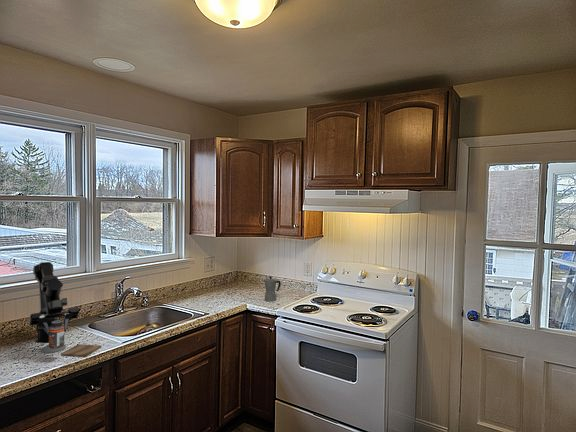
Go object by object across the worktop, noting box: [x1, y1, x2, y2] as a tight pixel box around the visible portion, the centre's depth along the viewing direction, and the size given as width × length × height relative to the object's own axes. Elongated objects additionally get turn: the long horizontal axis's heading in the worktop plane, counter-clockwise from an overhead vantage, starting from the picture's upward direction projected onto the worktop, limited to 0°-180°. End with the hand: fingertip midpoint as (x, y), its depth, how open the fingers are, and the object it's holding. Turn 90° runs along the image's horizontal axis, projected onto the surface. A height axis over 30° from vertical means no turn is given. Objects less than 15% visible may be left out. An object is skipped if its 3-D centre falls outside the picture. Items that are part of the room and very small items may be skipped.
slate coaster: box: [40, 343, 66, 354], centre depth 180 cm, size 10×10×1 cm
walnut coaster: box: [60, 344, 102, 358], centre depth 177 cm, size 12×12×1 cm
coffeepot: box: [262, 275, 282, 303], centre depth 280 cm, size 15×9×18 cm, turn 61°
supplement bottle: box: [48, 319, 65, 349], centre depth 165 cm, size 6×6×11 cm
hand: (57, 332), depth 164 cm, fingers closed on supplement bottle, 6 cm apart
